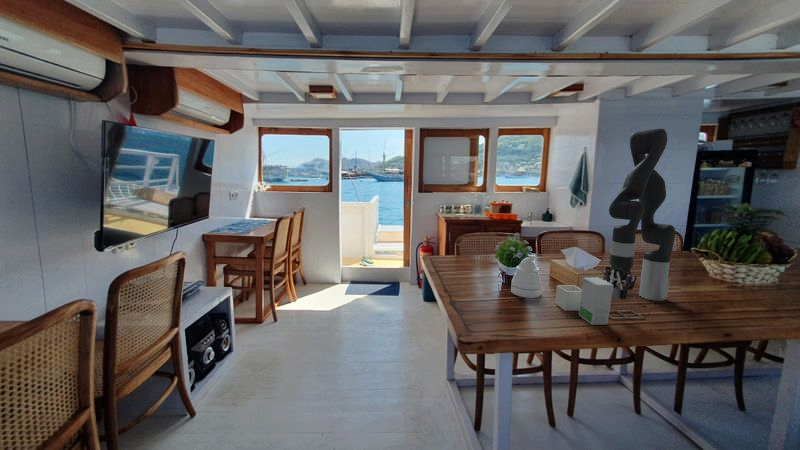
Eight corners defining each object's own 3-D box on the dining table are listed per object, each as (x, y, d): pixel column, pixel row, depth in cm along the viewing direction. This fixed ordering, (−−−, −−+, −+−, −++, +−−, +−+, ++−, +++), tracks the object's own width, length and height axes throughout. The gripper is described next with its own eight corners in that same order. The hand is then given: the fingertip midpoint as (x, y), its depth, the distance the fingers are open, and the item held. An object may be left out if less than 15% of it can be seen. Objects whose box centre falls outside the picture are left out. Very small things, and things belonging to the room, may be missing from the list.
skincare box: (578, 315, 126) (581, 277, 124) (594, 315, 126) (598, 276, 124) (592, 325, 118) (596, 284, 115) (609, 325, 118) (614, 284, 116)
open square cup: (572, 303, 138) (574, 285, 137) (583, 310, 131) (585, 291, 130) (555, 303, 138) (556, 285, 137) (565, 310, 130) (566, 291, 129)
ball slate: (619, 296, 127) (620, 285, 127) (627, 300, 123) (628, 288, 122) (608, 296, 127) (609, 285, 126) (616, 300, 123) (617, 289, 122)
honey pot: (544, 292, 151) (547, 254, 148) (534, 300, 142) (537, 260, 139) (517, 285, 160) (520, 250, 157) (506, 292, 150) (508, 254, 148)
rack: (631, 311, 130) (631, 310, 130) (645, 319, 123) (645, 317, 123) (599, 312, 129) (600, 310, 129) (612, 319, 122) (612, 318, 122)
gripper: (646, 258, 115) (641, 303, 118) (618, 248, 129) (614, 289, 132) (626, 258, 115) (621, 304, 118) (600, 249, 129) (596, 290, 132)
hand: (617, 296), depth 125 cm, fingers closed on ball slate, 4 cm apart
